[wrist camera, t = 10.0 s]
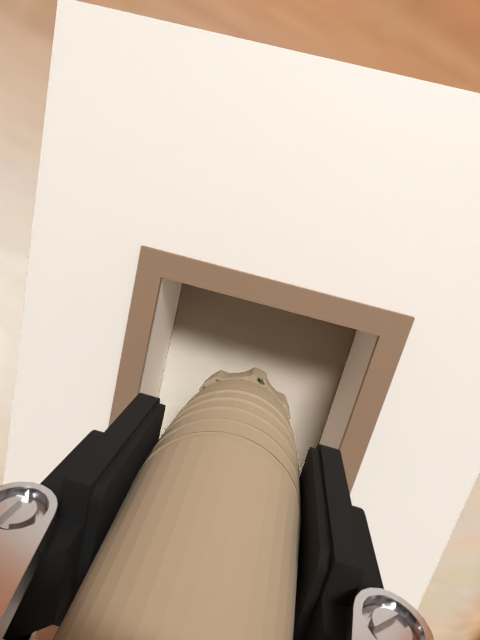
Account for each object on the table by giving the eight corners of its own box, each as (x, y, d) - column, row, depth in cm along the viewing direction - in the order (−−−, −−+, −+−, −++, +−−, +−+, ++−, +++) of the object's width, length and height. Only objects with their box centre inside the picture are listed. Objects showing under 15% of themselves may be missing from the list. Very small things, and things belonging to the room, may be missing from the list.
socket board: (104, 41, 15) (54, -8, 11) (562, 149, 14) (642, 127, 11) (34, 542, 20) (-13, 600, 17) (356, 642, 19) (368, 724, 16)
